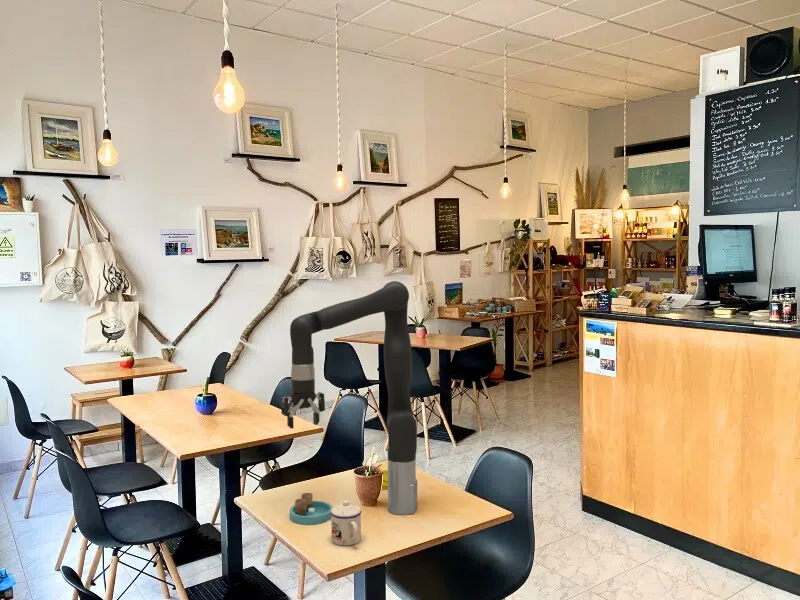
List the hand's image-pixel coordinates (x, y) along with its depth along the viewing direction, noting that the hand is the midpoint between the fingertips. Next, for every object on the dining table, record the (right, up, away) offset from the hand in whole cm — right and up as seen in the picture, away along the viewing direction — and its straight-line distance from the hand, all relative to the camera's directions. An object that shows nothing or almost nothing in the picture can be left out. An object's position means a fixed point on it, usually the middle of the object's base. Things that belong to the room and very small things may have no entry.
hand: (303, 426), depth 210 cm
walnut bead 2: (+1, -27, 0) cm, 27 cm away
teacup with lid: (+16, -30, -21) cm, 40 cm away
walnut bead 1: (0, -28, -5) cm, 28 cm away
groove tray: (+3, -28, -3) cm, 29 cm away
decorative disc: (+26, -27, +28) cm, 47 cm away
